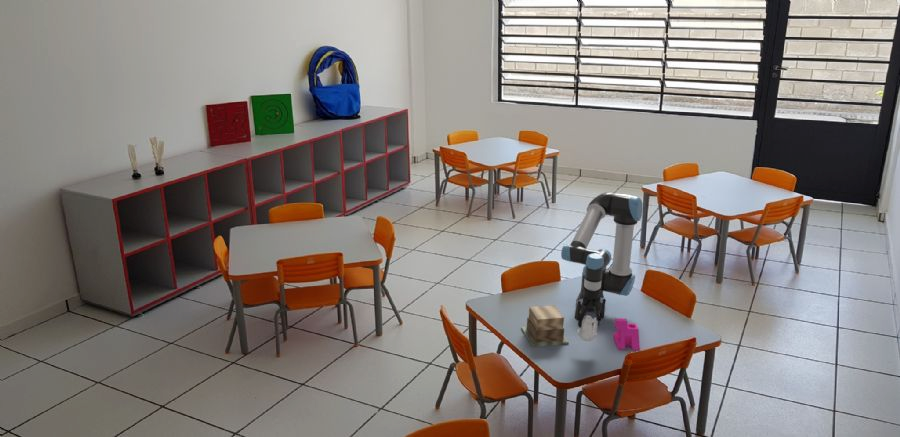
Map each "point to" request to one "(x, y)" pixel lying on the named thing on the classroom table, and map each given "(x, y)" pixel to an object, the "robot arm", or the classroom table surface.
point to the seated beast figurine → (587, 329)
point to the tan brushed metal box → (545, 326)
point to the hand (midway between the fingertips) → (587, 332)
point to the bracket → (626, 334)
